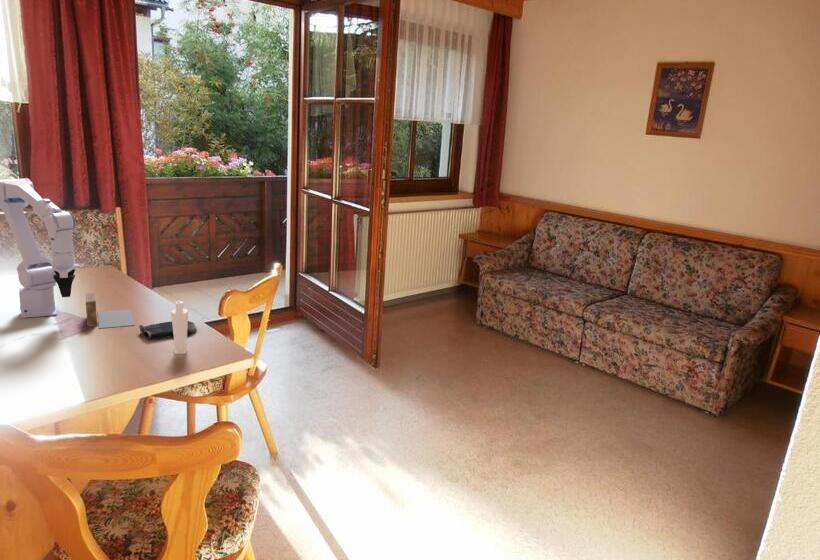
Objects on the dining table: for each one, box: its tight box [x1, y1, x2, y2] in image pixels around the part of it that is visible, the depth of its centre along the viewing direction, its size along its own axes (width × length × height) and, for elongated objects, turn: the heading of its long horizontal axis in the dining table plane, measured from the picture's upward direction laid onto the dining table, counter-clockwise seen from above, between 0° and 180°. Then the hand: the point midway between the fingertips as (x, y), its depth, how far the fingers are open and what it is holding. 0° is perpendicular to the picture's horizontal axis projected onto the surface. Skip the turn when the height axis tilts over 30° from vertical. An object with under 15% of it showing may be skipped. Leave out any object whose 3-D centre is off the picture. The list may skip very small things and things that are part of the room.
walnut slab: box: [85, 292, 98, 326], centre depth 181 cm, size 3×9×8 cm, turn 29°
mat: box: [97, 308, 136, 330], centre depth 186 cm, size 10×16×1 cm, turn 29°
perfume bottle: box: [170, 300, 189, 355], centre depth 163 cm, size 5×4×15 cm
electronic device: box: [138, 320, 197, 341], centre depth 177 cm, size 10×6×15 cm
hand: (66, 294), depth 177 cm, fingers open, 5 cm apart
